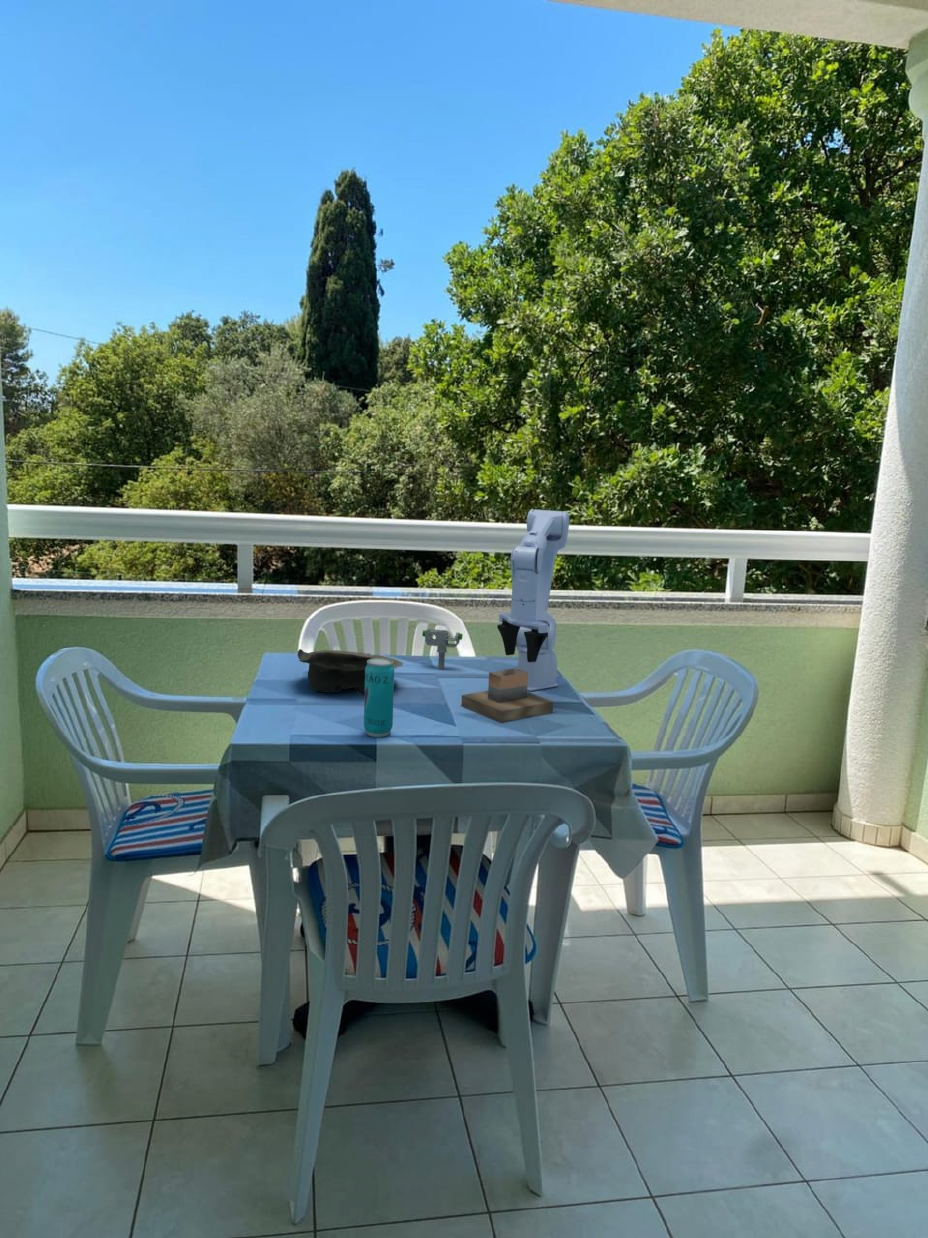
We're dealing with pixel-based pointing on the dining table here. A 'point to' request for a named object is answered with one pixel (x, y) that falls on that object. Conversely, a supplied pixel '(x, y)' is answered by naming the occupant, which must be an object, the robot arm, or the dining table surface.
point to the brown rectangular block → (507, 685)
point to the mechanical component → (441, 642)
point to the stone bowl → (338, 669)
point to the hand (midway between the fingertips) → (520, 658)
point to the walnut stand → (507, 706)
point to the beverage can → (378, 697)
